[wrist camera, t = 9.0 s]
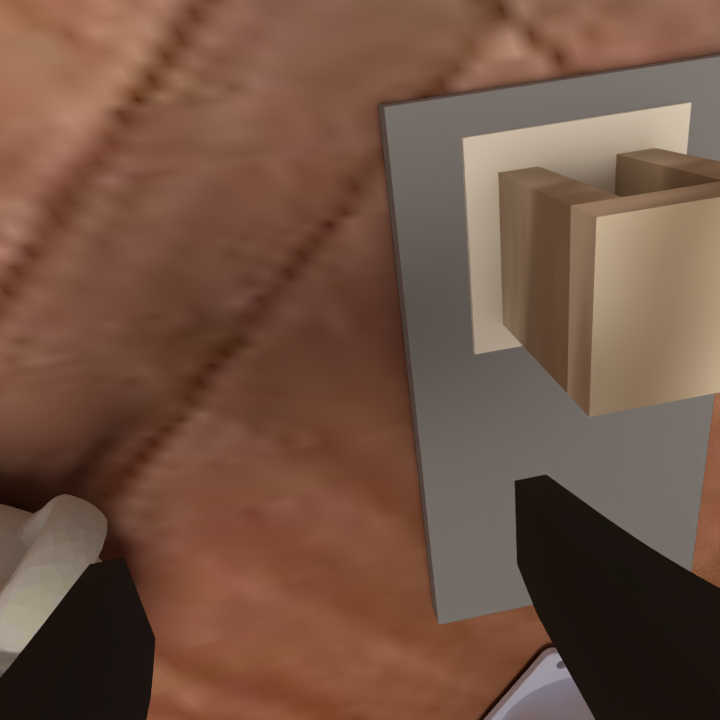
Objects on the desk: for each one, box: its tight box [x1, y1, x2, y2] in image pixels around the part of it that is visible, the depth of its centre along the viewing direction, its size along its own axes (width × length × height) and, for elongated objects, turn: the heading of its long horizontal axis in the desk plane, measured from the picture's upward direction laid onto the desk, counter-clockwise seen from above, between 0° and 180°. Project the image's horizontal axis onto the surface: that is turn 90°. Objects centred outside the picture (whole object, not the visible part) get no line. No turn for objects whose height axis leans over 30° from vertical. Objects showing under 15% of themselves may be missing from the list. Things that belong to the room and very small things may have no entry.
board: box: [378, 54, 720, 625], centre depth 22 cm, size 20×11×1 cm, turn 7°
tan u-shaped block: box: [498, 148, 720, 417], centre depth 17 cm, size 5×5×6 cm
